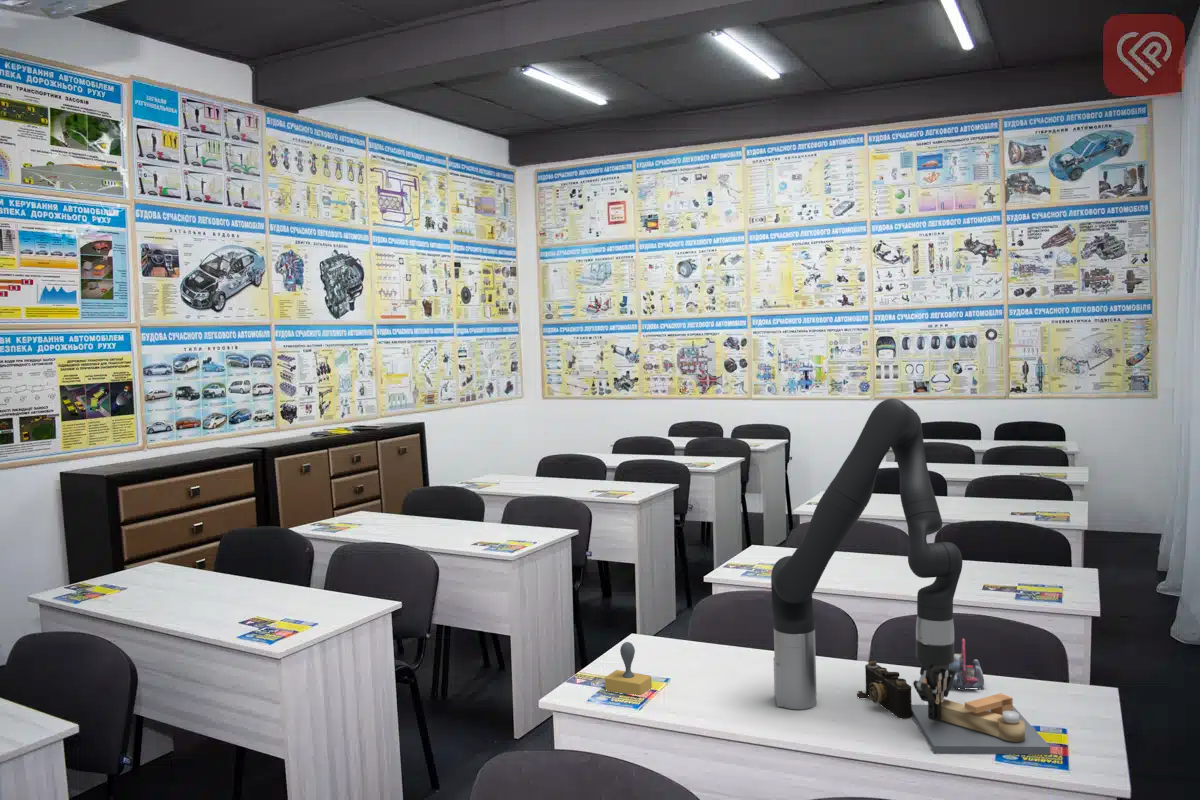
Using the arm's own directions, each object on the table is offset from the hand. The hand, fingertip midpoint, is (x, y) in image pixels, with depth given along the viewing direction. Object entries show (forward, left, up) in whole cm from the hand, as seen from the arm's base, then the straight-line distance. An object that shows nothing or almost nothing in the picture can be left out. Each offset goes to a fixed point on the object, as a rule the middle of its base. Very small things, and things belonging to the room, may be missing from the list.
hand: (934, 719), depth 189 cm
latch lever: (+8, -2, -1) cm, 8 cm away
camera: (-8, +14, -3) cm, 16 cm away
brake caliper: (+13, +27, -3) cm, 30 cm away
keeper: (+11, -1, -1) cm, 11 cm away
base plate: (+8, 0, -3) cm, 8 cm away
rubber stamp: (-66, +22, -3) cm, 70 cm away
